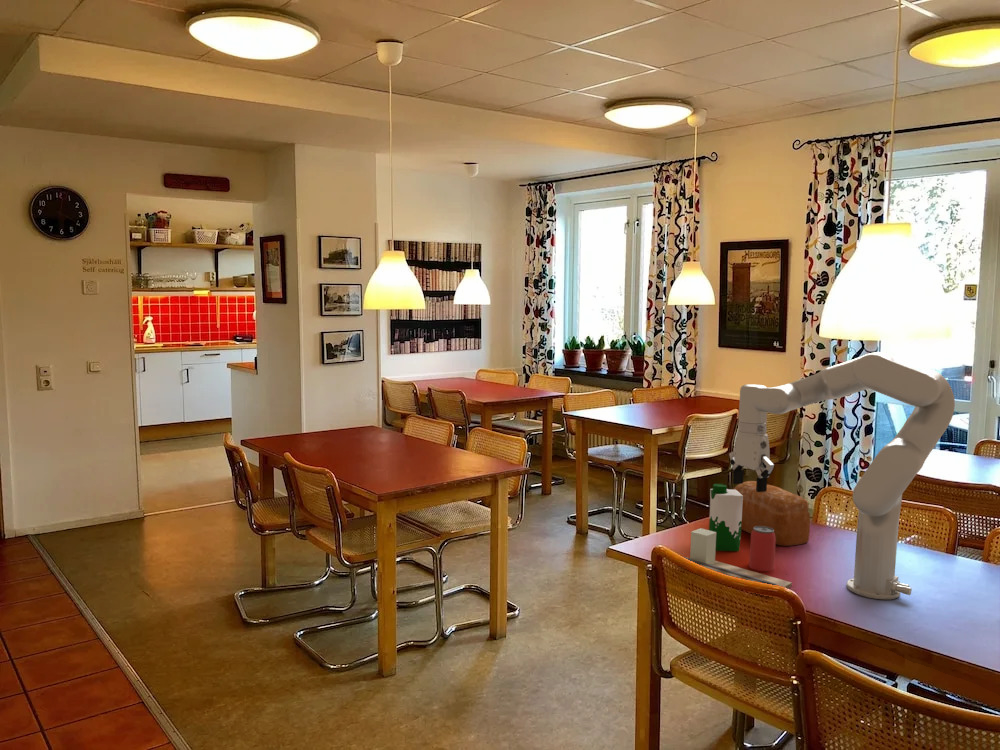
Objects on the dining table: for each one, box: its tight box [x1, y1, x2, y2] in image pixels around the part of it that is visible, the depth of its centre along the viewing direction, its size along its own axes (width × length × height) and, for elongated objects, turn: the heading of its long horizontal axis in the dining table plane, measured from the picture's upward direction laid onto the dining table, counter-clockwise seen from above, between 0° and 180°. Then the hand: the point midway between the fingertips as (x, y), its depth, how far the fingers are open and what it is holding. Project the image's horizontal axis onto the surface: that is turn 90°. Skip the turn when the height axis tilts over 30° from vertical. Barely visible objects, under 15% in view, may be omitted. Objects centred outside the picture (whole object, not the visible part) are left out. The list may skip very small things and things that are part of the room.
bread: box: [732, 480, 811, 547], centre depth 247 cm, size 14×26×16 cm, turn 22°
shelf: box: [683, 556, 793, 589], centre depth 208 cm, size 28×10×3 cm, turn 44°
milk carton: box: [708, 483, 743, 552], centre depth 229 cm, size 9×9×20 cm
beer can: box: [748, 526, 776, 573], centre depth 213 cm, size 7×7×12 cm
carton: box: [689, 527, 716, 565], centre depth 215 cm, size 5×5×9 cm
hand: (749, 487), depth 217 cm, fingers open, 9 cm apart
